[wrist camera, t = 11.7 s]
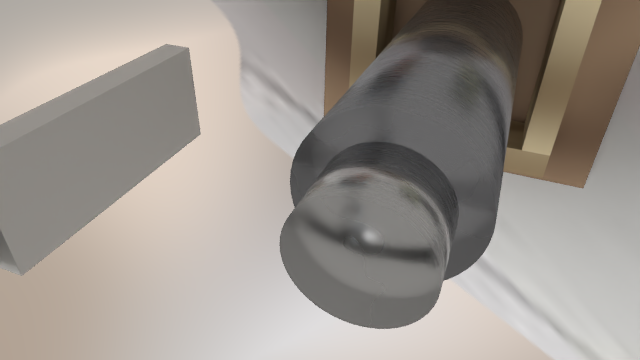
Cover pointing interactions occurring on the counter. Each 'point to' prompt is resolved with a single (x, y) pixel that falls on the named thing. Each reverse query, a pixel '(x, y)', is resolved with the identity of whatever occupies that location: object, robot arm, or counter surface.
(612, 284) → the counter surface
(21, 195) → the robot arm
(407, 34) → the grey cylinder
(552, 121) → the tool stand
